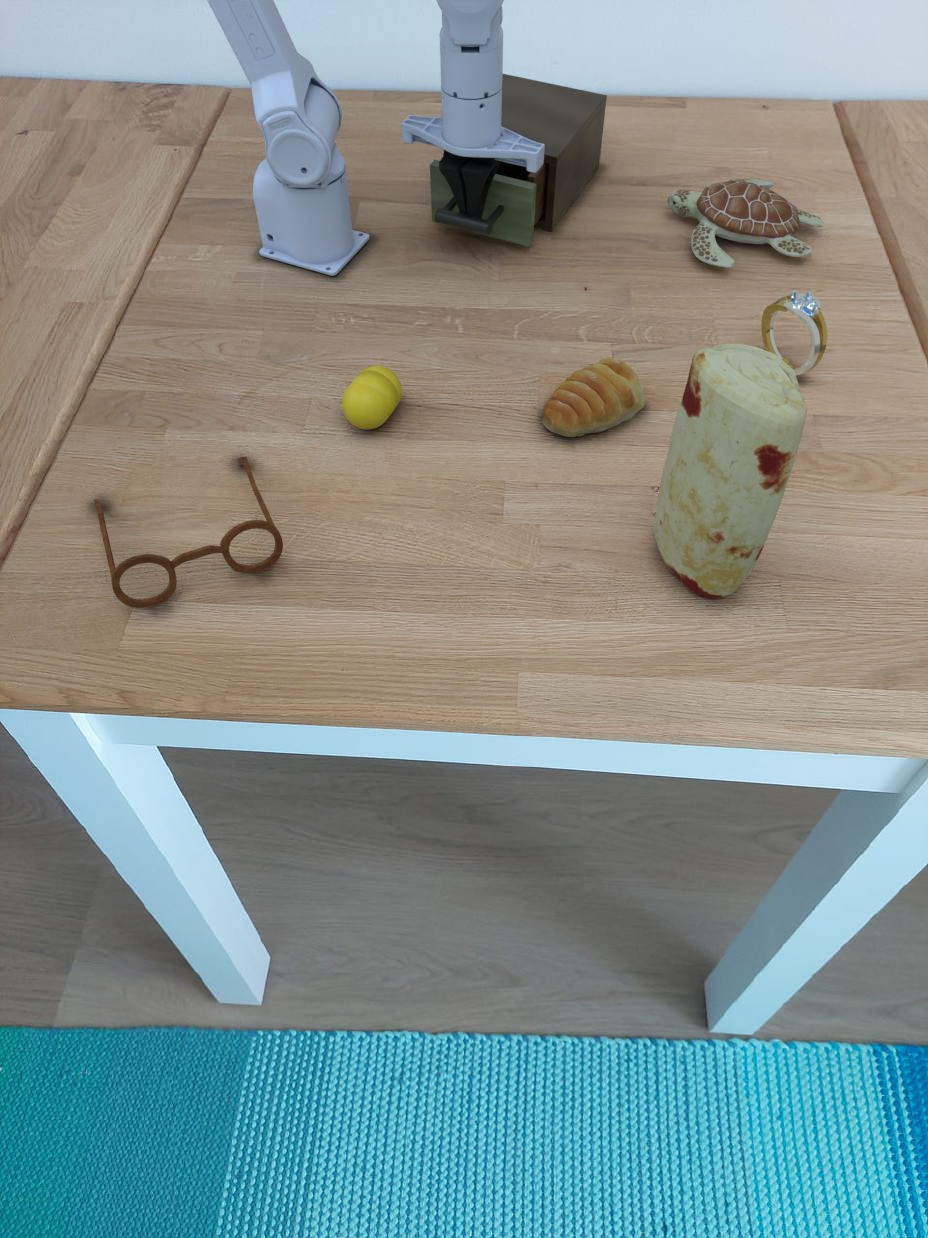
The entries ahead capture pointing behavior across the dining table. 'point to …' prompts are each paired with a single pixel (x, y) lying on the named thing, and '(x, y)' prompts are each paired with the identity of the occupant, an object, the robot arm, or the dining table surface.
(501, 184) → the drawer
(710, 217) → the decorative turtle
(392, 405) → the yellow capsule container
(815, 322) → the ring
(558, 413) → the pastry
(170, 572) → the glasses
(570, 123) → the cabinet
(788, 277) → the dining table surface
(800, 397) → the food model
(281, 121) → the robot arm
